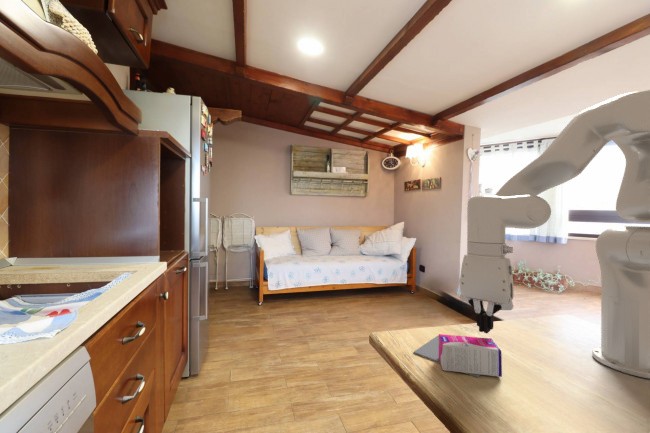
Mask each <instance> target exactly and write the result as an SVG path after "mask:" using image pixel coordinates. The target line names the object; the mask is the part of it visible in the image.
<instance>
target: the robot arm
mask: <svg viewBox="0 0 650 433" xmlns="http://www.w3.org/2000/svg"><path fill="white" fill-rule="evenodd" d="M611 141H613V143H614V144H615V145H616V146H617V147H618V148H619V150H620V151H621V152H622V154H623V156H624V158H625V168H624V172H623V176H622V179H621V183H620V187H619V189H618V195H617V198H616V202H615V211H616V214H617V215H618V216H619V217H620V218H622V219H624V220H626V221H629V222H636V223H650V89H646V90H640V91H632V92H628V93H624V94H620V95H617V96H614V97H612V98H609V99H607V100H605V101H602V102H600V103H597V104H595V105H593V106H591V107H587V108H586V109H584V110H582V111H581V112H579V113H578V114H576V115H575V116H574V117H573V118H572V119H571V120H570V121H569V122H568V124H566V125H565V127H564V128H563V129H562V130H561V132H560V133H559V134H558V135H557V137H556V138H555V139H554V140H552V142H551V143H550V144H549V146H548V147H547V148H546V149H545V150H544V151H543V152H542V153H541V154H540V155H539V156H538V157H536V159H534V160H533V161H532V162H530V163H529V164H528V165H526V166H525V167H523V168H522V169H521V170H520V171H518V172H517V173H516V174H514V176H512V177H510V179H509V180H507V181H506V182H505V183H504V184H503V185H502V186H501V187H500V189H499V190H497V192H496V193H495V194H494V195H477V196H476V195H475V196H472V197H470V198H469V199H468V200H467V207H466V209H467V216H466V217H467V220H466V222H467V223H466V225H467V226H466V228H467V231H466V234H467V238H466V254H463V255H464V256H463V258H462V264H461V268H460V269H461V270H460V275H459V276H460V277H459V293H460V295H459V300H460V301H462V302H465V303H467V304H469V305H470V306H471V307H472V308H473V311H474V312H475V314H476V326H477V327H478V332H479V333H483V334H489V332H490V331H491V330H493V329H494V315H495V314H496V313H498V312H499V311H511V310H514V308H515V307H514V303H513V299H514V296H515V294H514V293H515V291H514V288H515V287H514V277H513V267H512V263H511V258H510V257H509V256H506V255H507V254H513V253H514V248H513V246H509V245H508V244H507V243H506V228H511V229H513V228H514V229H524V230H525V229H527V230H529V229H531V230H532V229H536V228H539V227H542V226H543V225H545V224H546V223H547V222H548V221H549V219H550V217H551V215H552V209H551V206H550V203H549V202H548V201H547V200H545V199H544V198H543V197H540V196H539V195H540V194H542V193H543V192H545V191H548V190H549V189H552V188H555V187H558V186H560V185H562V184H564V183H567V182H569V181H571V180H572V179H575V178H576V177H578V176H579V175H581V174H582V172H583V171H584V170H585V169H586V168H587V167H588V166H589V165H590V163H591V162H592V161H593V159H594V158H595V157H596V156H597V155H598V154H599V153H600V151H602V149H603V148H604V147H605V146H606V145H607V144H608V143H609V142H611ZM595 252H596V257H597V260H598V265H599V268H600V277H601V278H600V280H601V284H600V285H601V299H600V302H601V304H600V305H601V306H600V307H601V309H600V310H601V315H600V316H601V317H600V318H601V319H600V320H601V323H600V324H601V326H600V329H601V330H600V334H601V335H600V336H601V337H600V338H601V339H600V340H601V343H600V345H601V347H595V348H593V349H592V350H591V351H592V354H591V355H592V357H593V359H595V360H596V361H598V363H601V364H602V365H604V366H607V367H608V368H611V369H613V370H616V371H619V372H622V373H623V374H628V375H631V376H636V377H639V378H645V379H648V380H649V379H650V226H637V225H636V226H635V225H633V226H632V225H631V226H629V225H625V226H616V227H610V228H608V229H606V230H604V231H602V232H601V233H600V234H599V235H598V236H597V238H596V242H595ZM484 302H487V304H486V305H487V306H486V310H485V305H484Z"/></svg>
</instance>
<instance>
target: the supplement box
mask: <svg viewBox="0 0 650 433" xmlns="http://www.w3.org/2000/svg"><path fill="white" fill-rule="evenodd" d="M438 335H439V360H440V363H441V364H440V363H439V364H440V367H441V368H442V371H447V372H458V373H464V374H466V373H472V374H480V376H491V377H498V378H499V377H501V378H502V377H503V368H502V366H503V364H502V363H503V362H502V360H503V359H502V350H501V349H500V348H499V347H498V345H497V344H496V342H495V341H494V339H492V338H489V337H478V336H467V335H466V336H464V335H455V334H454V335H452V334H443V333H442V334H440V333H439V334H438Z"/></svg>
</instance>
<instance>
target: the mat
mask: <svg viewBox="0 0 650 433" xmlns="http://www.w3.org/2000/svg"><path fill="white" fill-rule="evenodd" d="M413 354H415V355H417V356H419V357H421V358H422V357H423V358H425V359H427V360H431V361H433V362H435V363H437V364H440V365H441V363H440V360H439V334H438V335H436V336H435V337H433V338H432V339H430V340H429V341H427V342H426V343H424V344H423V345H422V346H420V347H419V348H417V349H415V350H413ZM465 374H467V375H470V376H472V377H475V378H479V377H480V376H481V374H472V373H465Z"/></svg>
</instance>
